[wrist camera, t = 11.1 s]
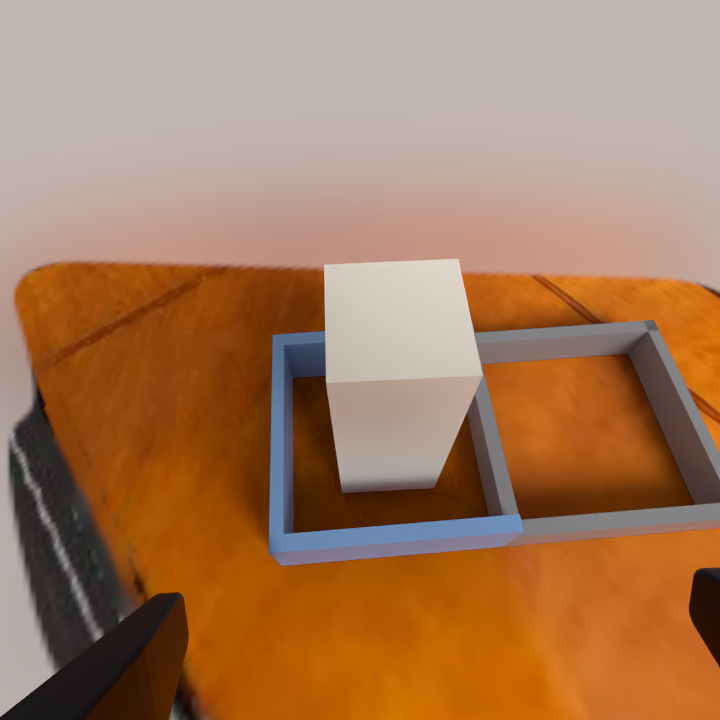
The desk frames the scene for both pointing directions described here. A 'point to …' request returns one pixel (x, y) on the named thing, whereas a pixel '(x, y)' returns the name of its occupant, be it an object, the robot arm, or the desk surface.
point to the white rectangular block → (397, 370)
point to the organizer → (501, 453)
